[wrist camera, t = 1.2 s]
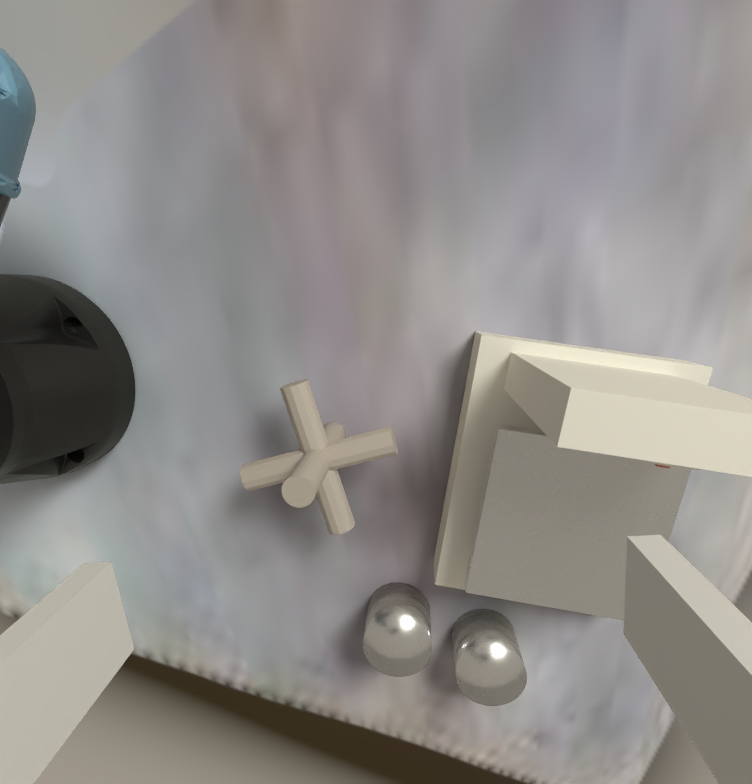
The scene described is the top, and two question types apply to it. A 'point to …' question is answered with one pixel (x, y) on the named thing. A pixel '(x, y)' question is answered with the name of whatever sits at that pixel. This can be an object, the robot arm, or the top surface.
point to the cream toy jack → (317, 459)
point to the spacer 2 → (487, 658)
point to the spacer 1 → (398, 630)
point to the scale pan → (564, 522)
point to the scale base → (584, 420)
